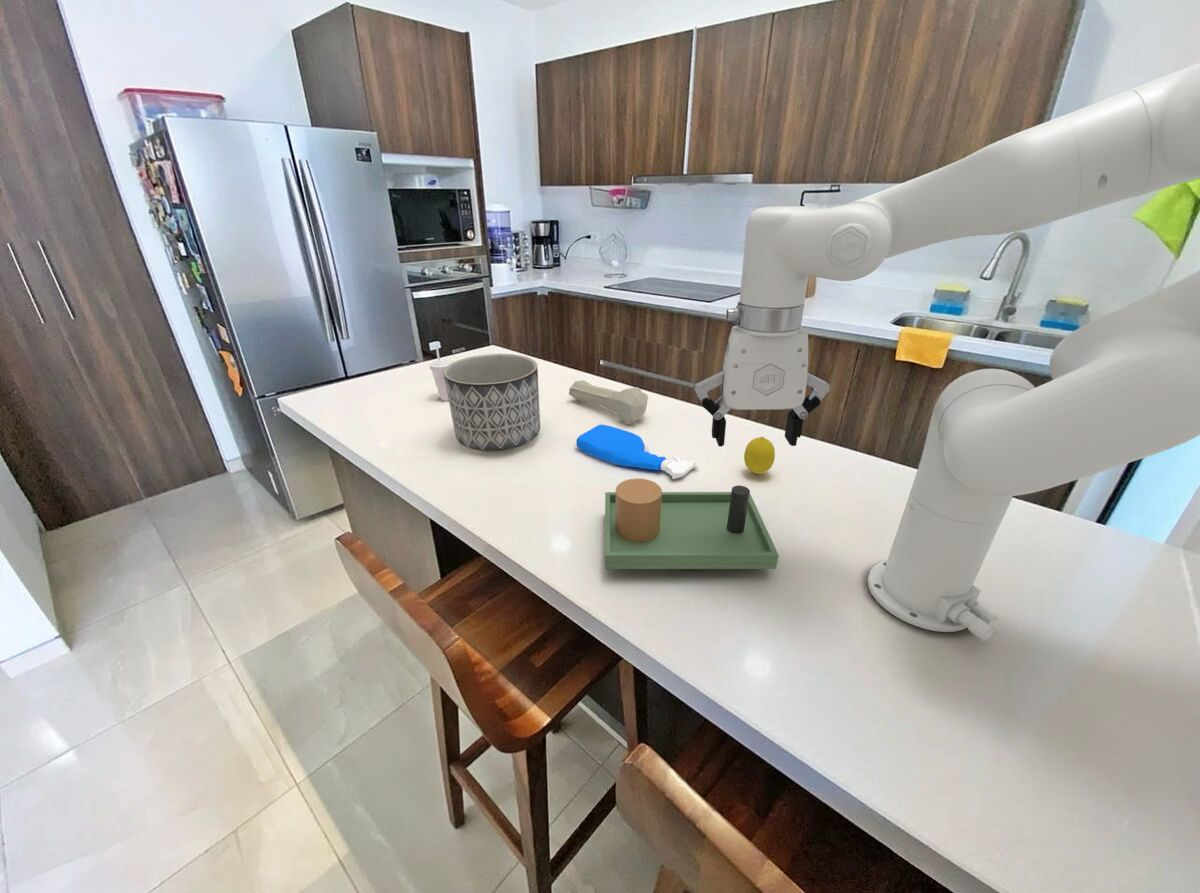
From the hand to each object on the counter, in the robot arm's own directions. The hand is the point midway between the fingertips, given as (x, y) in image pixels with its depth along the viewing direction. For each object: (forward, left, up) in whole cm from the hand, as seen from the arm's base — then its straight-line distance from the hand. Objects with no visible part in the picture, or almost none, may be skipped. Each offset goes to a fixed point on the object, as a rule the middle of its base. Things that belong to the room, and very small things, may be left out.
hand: (754, 441), depth 69 cm
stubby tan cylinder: (+6, +15, -15) cm, 22 cm away
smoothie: (+81, +35, -18) cm, 90 cm away
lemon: (+17, -16, -18) cm, 30 cm away
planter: (+52, +27, -18) cm, 61 cm away
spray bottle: (+32, +3, -18) cm, 37 cm away
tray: (+4, +8, -16) cm, 18 cm away
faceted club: (+57, -1, -18) cm, 60 cm away
